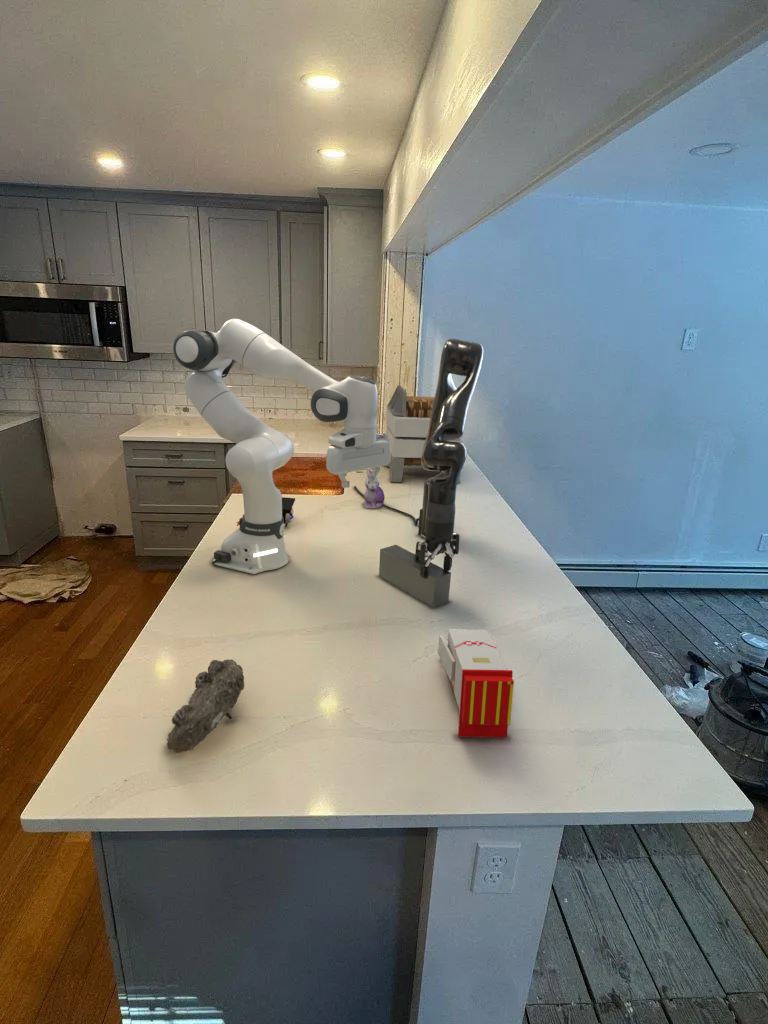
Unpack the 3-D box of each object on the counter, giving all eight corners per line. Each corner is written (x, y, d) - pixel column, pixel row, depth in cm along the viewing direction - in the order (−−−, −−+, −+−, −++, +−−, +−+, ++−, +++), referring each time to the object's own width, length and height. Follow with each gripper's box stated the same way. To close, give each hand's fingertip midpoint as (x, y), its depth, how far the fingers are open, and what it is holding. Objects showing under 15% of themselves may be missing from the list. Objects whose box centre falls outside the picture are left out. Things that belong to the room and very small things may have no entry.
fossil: (192, 660, 117) (244, 628, 112) (224, 691, 120) (276, 661, 115) (142, 746, 98) (202, 712, 93) (182, 779, 101) (242, 748, 96)
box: (448, 601, 155) (451, 572, 152) (432, 608, 151) (435, 578, 148) (394, 571, 171) (395, 544, 168) (378, 576, 168) (380, 549, 165)
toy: (488, 613, 130) (523, 677, 101) (484, 667, 133) (517, 744, 104) (435, 612, 130) (455, 676, 101) (432, 666, 133) (451, 743, 103)
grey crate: (382, 463, 289) (386, 382, 275) (445, 464, 293) (451, 384, 279) (390, 482, 257) (394, 392, 243) (460, 483, 261) (468, 394, 247)
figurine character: (291, 533, 199) (296, 514, 213) (290, 514, 196) (295, 495, 209) (271, 532, 199) (278, 513, 213) (270, 513, 196) (277, 495, 209)
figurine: (368, 510, 221) (370, 473, 216) (357, 502, 229) (358, 466, 224) (390, 507, 225) (391, 471, 220) (378, 500, 233) (379, 464, 228)
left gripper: (382, 430, 164) (380, 476, 168) (323, 437, 151) (322, 487, 156) (396, 434, 159) (394, 481, 164) (337, 442, 147) (336, 493, 151)
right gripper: (448, 508, 154) (444, 562, 159) (410, 518, 145) (406, 575, 151) (469, 516, 149) (464, 572, 154) (430, 526, 140) (426, 585, 145)
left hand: (358, 484), depth 160 cm, fingers open, 8 cm apart
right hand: (435, 573), depth 152 cm, fingers open, 8 cm apart
